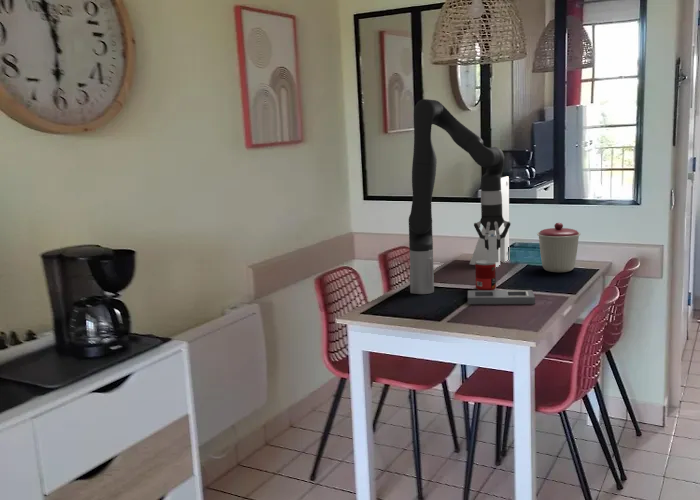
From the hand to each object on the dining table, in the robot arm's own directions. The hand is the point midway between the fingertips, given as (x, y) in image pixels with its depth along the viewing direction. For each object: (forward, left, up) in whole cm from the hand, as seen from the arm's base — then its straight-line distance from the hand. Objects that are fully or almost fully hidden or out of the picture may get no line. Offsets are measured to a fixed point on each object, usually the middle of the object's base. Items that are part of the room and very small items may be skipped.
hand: (492, 249), depth 255 cm
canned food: (-2, +19, -20) cm, 28 cm away
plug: (0, +1, -5) cm, 5 cm away
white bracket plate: (0, +70, -20) cm, 73 cm away
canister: (+30, +52, -20) cm, 63 cm away
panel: (+3, 0, -20) cm, 20 cm away
